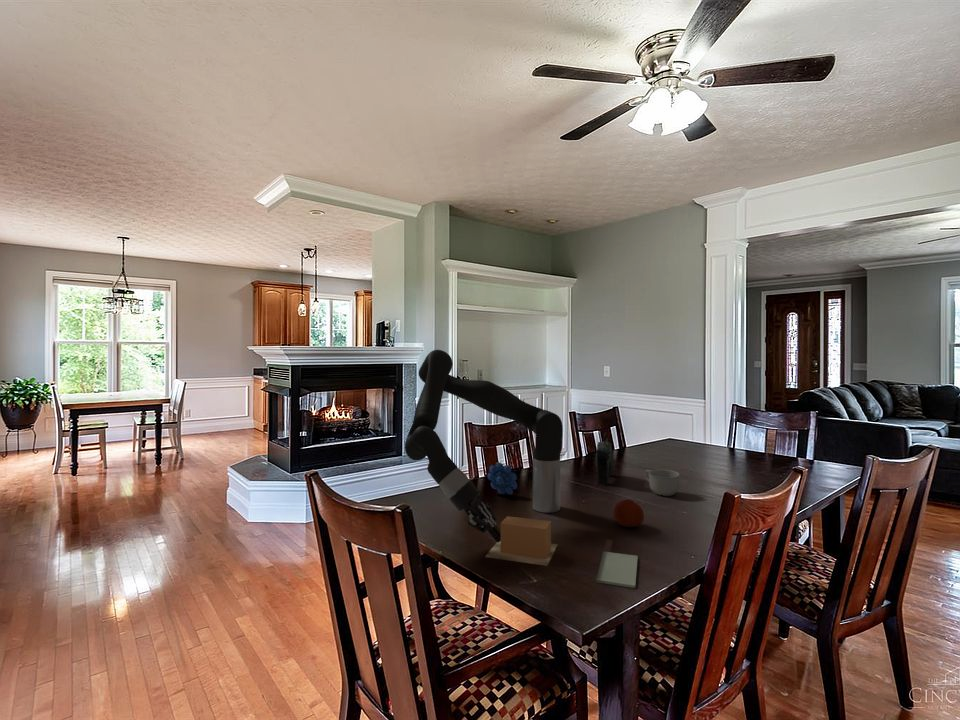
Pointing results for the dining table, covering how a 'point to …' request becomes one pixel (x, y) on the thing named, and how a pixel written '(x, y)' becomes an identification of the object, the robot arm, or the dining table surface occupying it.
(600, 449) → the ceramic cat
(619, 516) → the fruit
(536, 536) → the block
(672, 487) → the teacup
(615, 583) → the mat
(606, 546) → the dining table surface
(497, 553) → the board
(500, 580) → the dining table surface
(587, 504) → the dining table surface
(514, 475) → the grapes
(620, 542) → the dining table surface
